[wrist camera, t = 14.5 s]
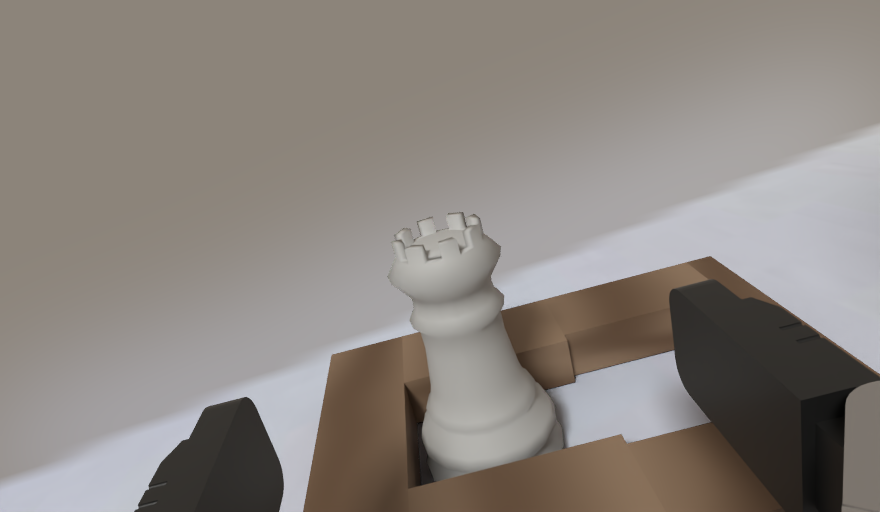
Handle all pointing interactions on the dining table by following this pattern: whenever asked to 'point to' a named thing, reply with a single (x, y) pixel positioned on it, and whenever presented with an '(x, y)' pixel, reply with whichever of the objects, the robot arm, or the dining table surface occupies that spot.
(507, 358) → the rook chess piece
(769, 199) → the dining table surface
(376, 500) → the rectangular wooden frame
